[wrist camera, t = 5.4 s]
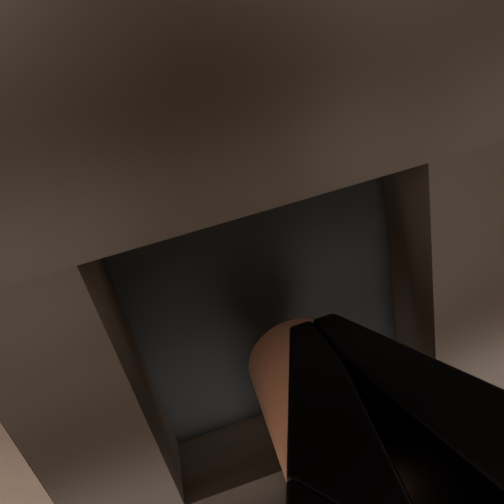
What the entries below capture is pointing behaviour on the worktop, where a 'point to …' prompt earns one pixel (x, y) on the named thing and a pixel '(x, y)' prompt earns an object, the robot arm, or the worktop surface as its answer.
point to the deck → (232, 219)
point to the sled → (274, 383)
